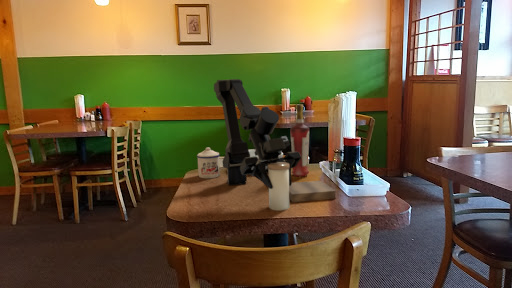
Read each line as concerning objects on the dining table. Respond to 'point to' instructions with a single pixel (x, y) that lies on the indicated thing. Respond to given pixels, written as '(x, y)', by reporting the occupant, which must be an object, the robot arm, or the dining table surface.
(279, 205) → the cream jar
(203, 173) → the teacup with lid
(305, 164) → the liquor
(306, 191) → the beige rectangular box
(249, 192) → the dining table surface
